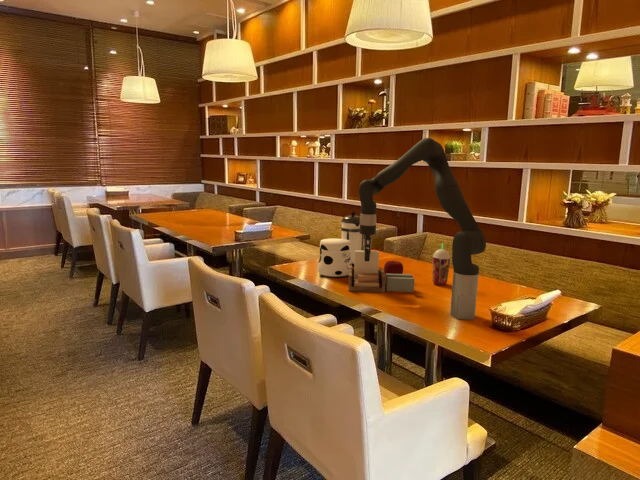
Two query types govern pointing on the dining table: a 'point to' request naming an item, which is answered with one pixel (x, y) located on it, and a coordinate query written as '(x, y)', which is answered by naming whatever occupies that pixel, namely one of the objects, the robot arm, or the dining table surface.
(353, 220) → the coffee press
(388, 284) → the holder
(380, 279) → the box
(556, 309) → the dining table surface
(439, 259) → the smoothie
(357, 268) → the cream rectangular board
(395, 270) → the apple
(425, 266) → the dining table surface
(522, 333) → the dining table surface
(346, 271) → the milk container
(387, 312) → the dining table surface
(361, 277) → the offcut small
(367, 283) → the offcut large
